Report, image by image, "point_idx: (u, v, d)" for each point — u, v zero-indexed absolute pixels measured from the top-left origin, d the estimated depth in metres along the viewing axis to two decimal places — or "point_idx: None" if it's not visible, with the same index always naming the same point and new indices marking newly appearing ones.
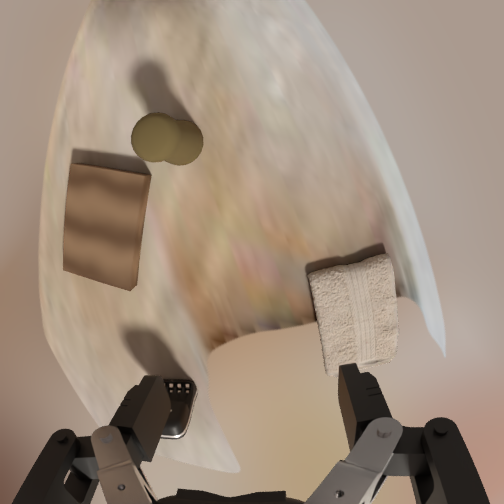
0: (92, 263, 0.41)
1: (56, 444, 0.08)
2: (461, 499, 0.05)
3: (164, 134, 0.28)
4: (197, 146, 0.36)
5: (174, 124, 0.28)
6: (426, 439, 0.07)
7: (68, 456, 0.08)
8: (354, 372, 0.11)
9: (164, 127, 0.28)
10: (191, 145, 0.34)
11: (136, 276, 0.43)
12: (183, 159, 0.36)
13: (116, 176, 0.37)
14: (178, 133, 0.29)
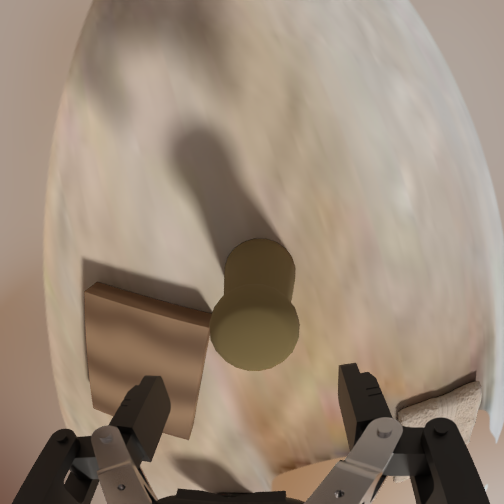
0: None
1: (56, 444, 0.08)
2: (461, 499, 0.05)
3: (280, 343, 0.16)
4: None
5: (295, 319, 0.17)
6: (426, 439, 0.07)
7: (68, 456, 0.08)
8: (354, 372, 0.11)
9: (280, 331, 0.16)
10: None
11: (193, 420, 0.32)
12: None
13: (162, 322, 0.26)
14: (298, 329, 0.17)
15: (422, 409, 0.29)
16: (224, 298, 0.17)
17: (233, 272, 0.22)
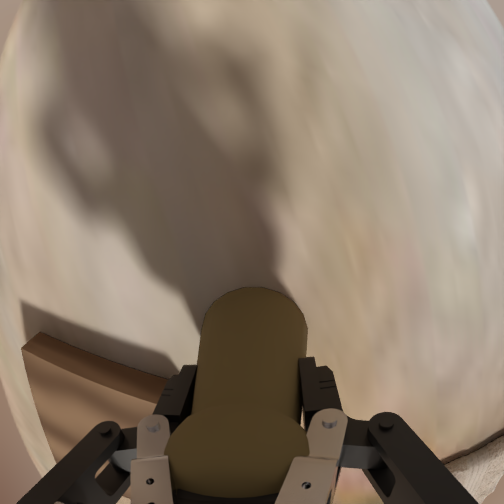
0: None
1: (97, 436, 0.09)
2: (428, 484, 0.05)
3: None
4: None
5: None
6: (373, 435, 0.08)
7: (106, 450, 0.08)
8: (311, 365, 0.12)
9: None
10: None
11: None
12: None
13: (118, 398, 0.17)
14: None
15: (451, 472, 0.20)
16: (182, 436, 0.08)
17: (208, 355, 0.13)
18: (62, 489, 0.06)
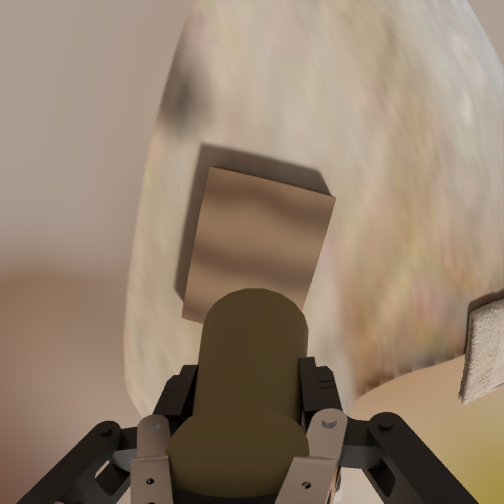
0: None
1: (98, 436, 0.09)
2: (428, 484, 0.05)
3: None
4: None
5: None
6: (373, 435, 0.08)
7: (106, 450, 0.08)
8: (310, 365, 0.12)
9: None
10: None
11: None
12: None
13: (292, 193, 0.28)
14: None
15: (489, 309, 0.32)
16: (183, 437, 0.08)
17: (209, 356, 0.13)
18: (62, 489, 0.06)
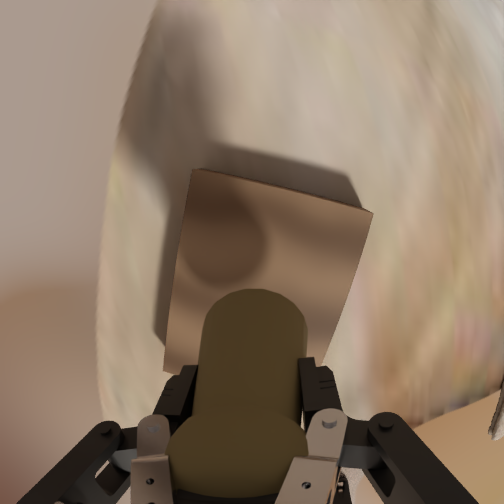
0: None
1: (98, 436, 0.09)
2: (428, 484, 0.05)
3: None
4: None
5: None
6: (373, 435, 0.08)
7: (106, 450, 0.08)
8: (310, 365, 0.12)
9: None
10: None
11: None
12: None
13: (313, 207, 0.20)
14: None
15: None
16: (182, 438, 0.08)
17: (208, 356, 0.13)
18: (62, 489, 0.06)
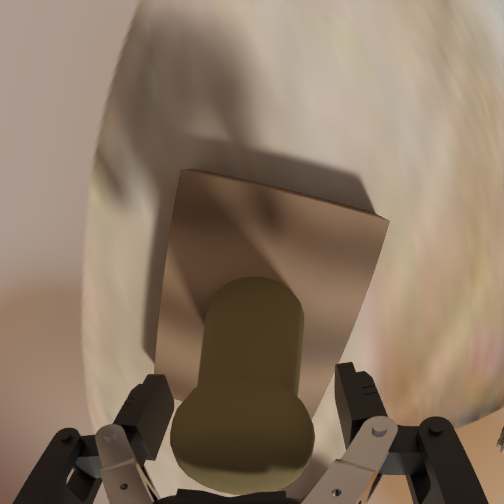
0: None
1: (60, 443, 0.08)
2: (458, 497, 0.05)
3: (284, 473, 0.08)
4: None
5: (308, 436, 0.09)
6: (421, 438, 0.07)
7: (71, 455, 0.08)
8: (350, 371, 0.11)
9: (284, 461, 0.08)
10: None
11: None
12: None
13: (320, 214, 0.17)
14: (313, 444, 0.09)
15: None
16: (189, 404, 0.09)
17: (212, 337, 0.14)
18: (40, 499, 0.05)
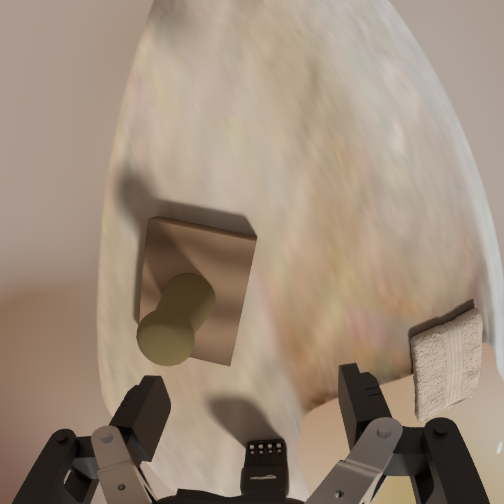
0: None
1: (56, 444, 0.08)
2: (461, 499, 0.05)
3: (176, 347, 0.24)
4: (210, 310, 0.33)
5: (186, 332, 0.25)
6: (426, 439, 0.07)
7: (68, 456, 0.08)
8: (354, 372, 0.11)
9: (175, 339, 0.24)
10: (203, 319, 0.31)
11: None
12: None
13: (217, 239, 0.33)
14: (192, 339, 0.26)
15: (430, 334, 0.36)
16: (143, 318, 0.25)
17: (160, 299, 0.30)
18: (38, 501, 0.05)
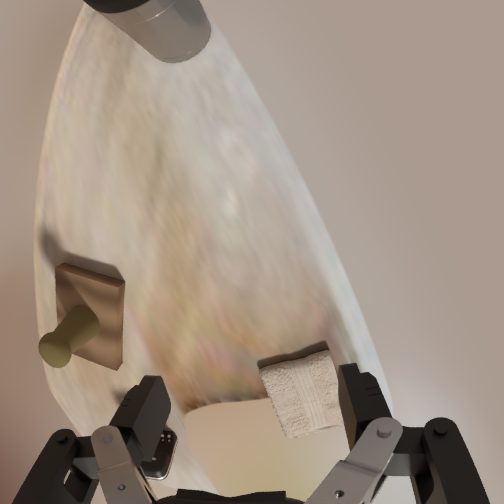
0: (83, 347, 0.46)
1: (56, 444, 0.08)
2: (461, 499, 0.05)
3: (56, 357, 0.34)
4: (93, 332, 0.43)
5: (61, 349, 0.35)
6: (426, 439, 0.07)
7: (68, 456, 0.08)
8: (354, 372, 0.11)
9: (55, 352, 0.34)
10: (85, 338, 0.41)
11: (121, 357, 0.49)
12: (85, 343, 0.42)
13: (95, 284, 0.43)
14: (66, 353, 0.35)
15: (276, 368, 0.46)
16: (42, 337, 0.35)
17: None
18: (38, 501, 0.05)
